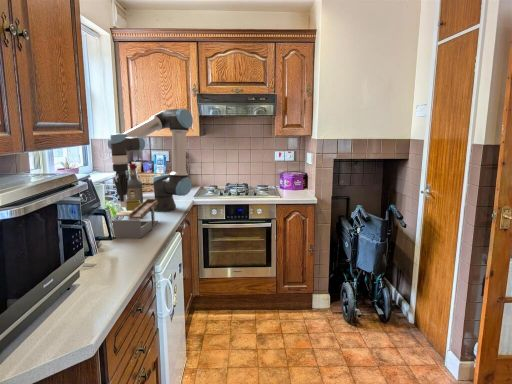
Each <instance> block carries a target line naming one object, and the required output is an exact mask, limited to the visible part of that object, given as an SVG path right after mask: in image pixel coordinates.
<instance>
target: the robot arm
mask: <svg viewBox="0 0 512 384" xmlns="http://www.w3.org/2000/svg"><path fill="white" fill-rule="evenodd" d="M193 123H194V119H193V115H192V113H191V112H190V110H188V109H186V108H171V109H170V108H168V109H164V110H161V111H160V112H158V113H156V114H153V115H152V116H151V117H150V118H149V119H148V120H146V121H144V122H142V123H140V124H138V125H137V126H134V127H133V128H131V129H129V130H127V131H125V132H124V133H112V134H110V136H109V138H108V139H107V148H108V149H110V150H111V160H112V171H113V172H115V177H114V178H113V182H114V184H115V190H116V194H117V196H119V205H120V208H126V207H127V204H126V201H127V194H128V193H127V192H128V181H129V174H127V171H129V165H128V161H129V159H128V152H140V151H143V150H144V149H145V147H146V142H145V139H144V138H145V137H147V136H149V135H150V134H153V133H155V132H156V131H159V132H160V131H161V130H163V129H169V131H170V132H171V135H172V136H171V137H172V138H171V139H172V141H171V142H172V143H171V145H172V146H171V152H172V153H171V172H170V173H166V174H164V173H163V174H158V175H154V176H153V182H152V183H153V195H154V199H156V200H157V202H158V204H157V205H156V208H155V209H154V212H163V213H164V212H171V211H174V210H176V209H177V205H176V202H175V200H174V197H173V196H178V197H182V196H183V197H185V196H187V195H189V193H190V192H191V190H192V187H193V183H192V180H191V178H189V174H188V172H187V133H189V131H190V130H189V129H190V128H191V127H192V126H193Z"/></svg>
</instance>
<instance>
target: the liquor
mask: <svg viewBox="0 0 512 384" xmlns="http://www.w3.org/2000/svg"><path fill="white" fill-rule="evenodd" d="M136 168H137V167H136V163H130V164H129V169H130V170H129V173H130V176H129V179H128V192H127V193H128V194H127V195H126V201H135V200H140V205H141V204H142V203H143V202H144V196H143V195H144V194H143V184H142V181H140V180H139V179H138V178H137V172H136Z"/></svg>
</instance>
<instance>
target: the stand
mask: <svg viewBox="0 0 512 384" xmlns="http://www.w3.org/2000/svg"><path fill="white" fill-rule="evenodd" d="M136 208H137V207H136ZM136 208H135V209H136ZM150 215H151V217H150V218H151V220H140V218H135V220H140V221H141V222H149V221H151V222H152V228H154V227H155V226H156V225H158V224H159V220H155V211H154V208H151V212H150Z"/></svg>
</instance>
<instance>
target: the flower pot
mask: <svg viewBox="0 0 512 384" xmlns="http://www.w3.org/2000/svg"><path fill="white" fill-rule="evenodd" d="M126 204H127V207H125V211H133V210H135V208H136V207H138V206H139V205H140V200H135V201H127V200H126ZM128 217H129V218H130V216H128Z"/></svg>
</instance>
